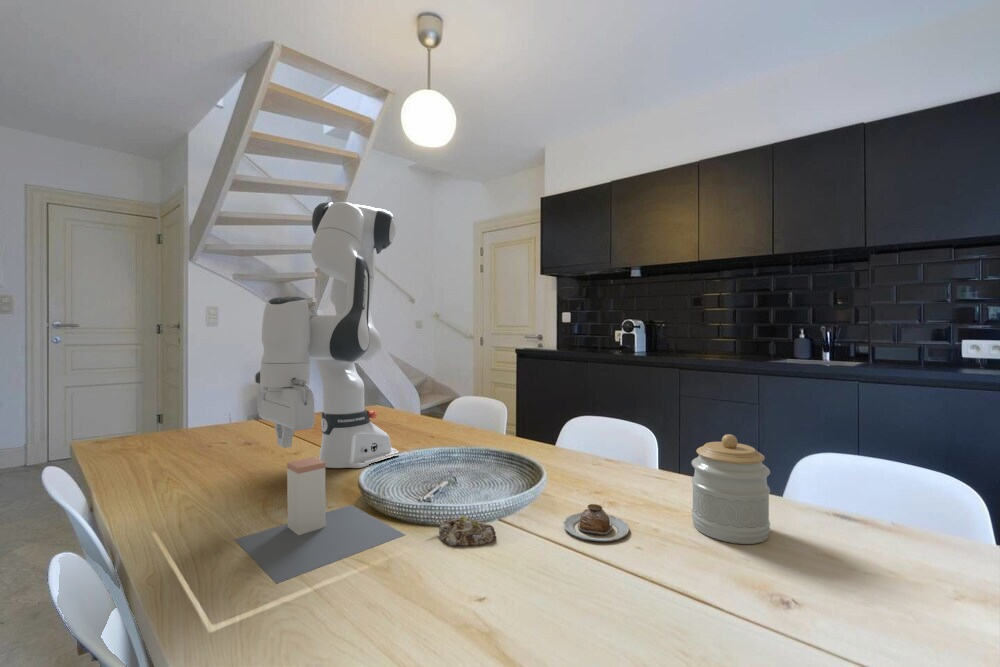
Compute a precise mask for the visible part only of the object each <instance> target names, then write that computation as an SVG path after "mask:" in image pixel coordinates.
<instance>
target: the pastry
mask: <svg viewBox="0 0 1000 667" xmlns="http://www.w3.org/2000/svg"><path fill="white" fill-rule="evenodd" d="M576 526H577V529H579V531H581V532H584V533H588V534H592V535H598V536H605V535H607V534H608V533H610V532H611V531H612V529H613V527H614V528H615V529H616V531H617V532H616V534H614V535H613V536H609V537H590V536H587V535H584V534H581V533H579V532H577V530H576ZM563 528H564V529H565V531H566V532H568V533H569V534H570V535H571V536H572V537H575V538H578V539H581V540H583V541H593V542H612V541H614V542H615V541H618V540H621V539H623V538H625V537H626V536H627V535H628V533H629V532H630V527H629V525H628V524H627V522H626V521H624V520H623V519H621V518H619V517H616V516H614V515H612V514H608V513H607V512H606V510H604V509H603V507H602V506H601V505H599V504H596V503H595V504H594V503H592V504H591V503H590V504H588V505H587V508H585V509H584V510H583V511H582V512H579V513H574V514H571V515H568V516H567V517H566V518H565V520H564V521H563Z"/></svg>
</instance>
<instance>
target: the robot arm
mask: <svg viewBox="0 0 1000 667" xmlns="http://www.w3.org/2000/svg"><path fill="white" fill-rule="evenodd" d="M311 226H312V232H313V233H314V237H313V240H312V244H311V246H310V247H311V250H310V255H311V258H312V261H313V263H314V265H315V266H316V267H317V268H318V269H319V271H321V272H322V273H324V274H325V275H327V276H328V277H331V278H332V283H331V290H330V297H329V298H330V299H329V300H330V302H331V304H332V306H334V309H335V313H336V314H335V315H333V314H332V315H326V314H325V315H324V314H323V315H318V314H315V313H313V312H311V310H310V309H309V308H310V307H309V303H308V300H307V299H306V298H305V297H301V296H280V297H274V298H270V299H269V300H267V302H266V304H265V306H264V307H265V308H264V310H263V316H262V323H261V324H262V325H261V343H262V347H263V354H262V358H261V361H260V362H261V364H260V369H259V371H257V372H256V373H255V374H254V384H256V385H257V386H256V387H257V388H256V394H257V395H256V401H257V402H256V403H257V412H258V414H259V417H260V418H261V419H264V420H267V421H269V422H271V423H274V430H275V433H276V434H275V435H276V440H277V441H276V442H277V446H279V447H281V448H284V449H286V448H290V447H292V445H293V437H294V436H295V435H294V434H295V431H305V430H310V429H313V428H314V425H315V423H316V419H315V418H316V416H315V398H314V393H313V391H312V389H310V387H309V385H310V375H311V374H310V369H311V368H310V367H311V361H310V359H312V360H313V359H314V360H316V364H317V367H318V371H319V374H320V379H321V382H322V403H323V404H322V405H323V406H322V407H323V408H322V412H321V422H320V425H321V433H322V435H321V436H322V438H321V444H320V451H319V457H318V459H319V460H321V461H323V462H325V468H327V469H346V468H348V469H349V468H351V469H361V468H364V467H367V466H370V465H369V464H371V463H372V462H374V461H376V460H378V459H380V458H383V457H385V456H388V455H391V454H394V453H398V452H399V450H397V449H396V448H394V447H392V442H391V439H390V436H389V434H388V433H387V432H386V431H384V430H383V429H381V428H380V427H378V426H377V425H376V424H374V423H373V422H372V421H371V419H376V418H377V417H378V412H376V411H375V410H367V409H365V384H364V381H363V379H362V377H360V375H359V374H358V372H357V369H356V365H355V364H359V363H364V362H368V361H371V360H373V359H375V358H376V357H377V356H378V355H379V353H380V351H381V348H382V338H381V335H380V333H379V331H378V330H377V328H376V327H375V324H374V321H373V316H372V305H371V304H372V298H373V288H374V281H375V274H376V254H381V252H382V251H383V250H385V249H387V248H388V247H390V245H392V243H393V240H394V239H395V236H396V231H397V225H396V221H395V217H394V215H393V213H392V212H390V211H387V209H382V208H375V207H371V206H367V205H362V204H352V203H350V202H347V201H337V202H334V203H333V202H332V201H329V202H321V203H319V204H318V205H317V206H315V208H314V210H313V212H312V216H311ZM371 465H372V464H371Z"/></svg>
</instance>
